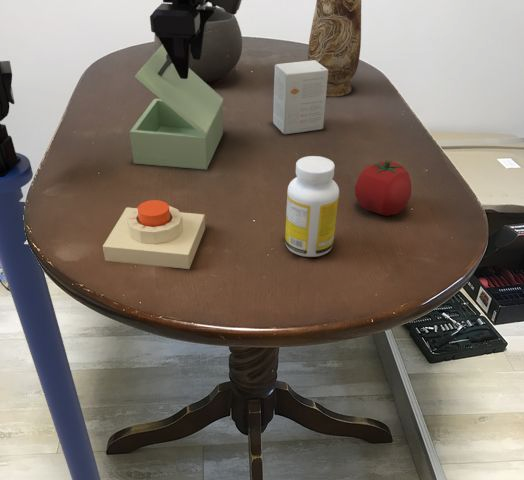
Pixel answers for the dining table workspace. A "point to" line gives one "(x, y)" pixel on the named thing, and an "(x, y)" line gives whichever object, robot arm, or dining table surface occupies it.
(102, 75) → the dining table surface
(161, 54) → the lid
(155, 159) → the box
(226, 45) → the bowl
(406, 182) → the tomato
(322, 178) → the pill bottle
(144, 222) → the button
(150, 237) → the release console
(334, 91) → the vase
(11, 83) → the robot arm
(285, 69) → the small box
